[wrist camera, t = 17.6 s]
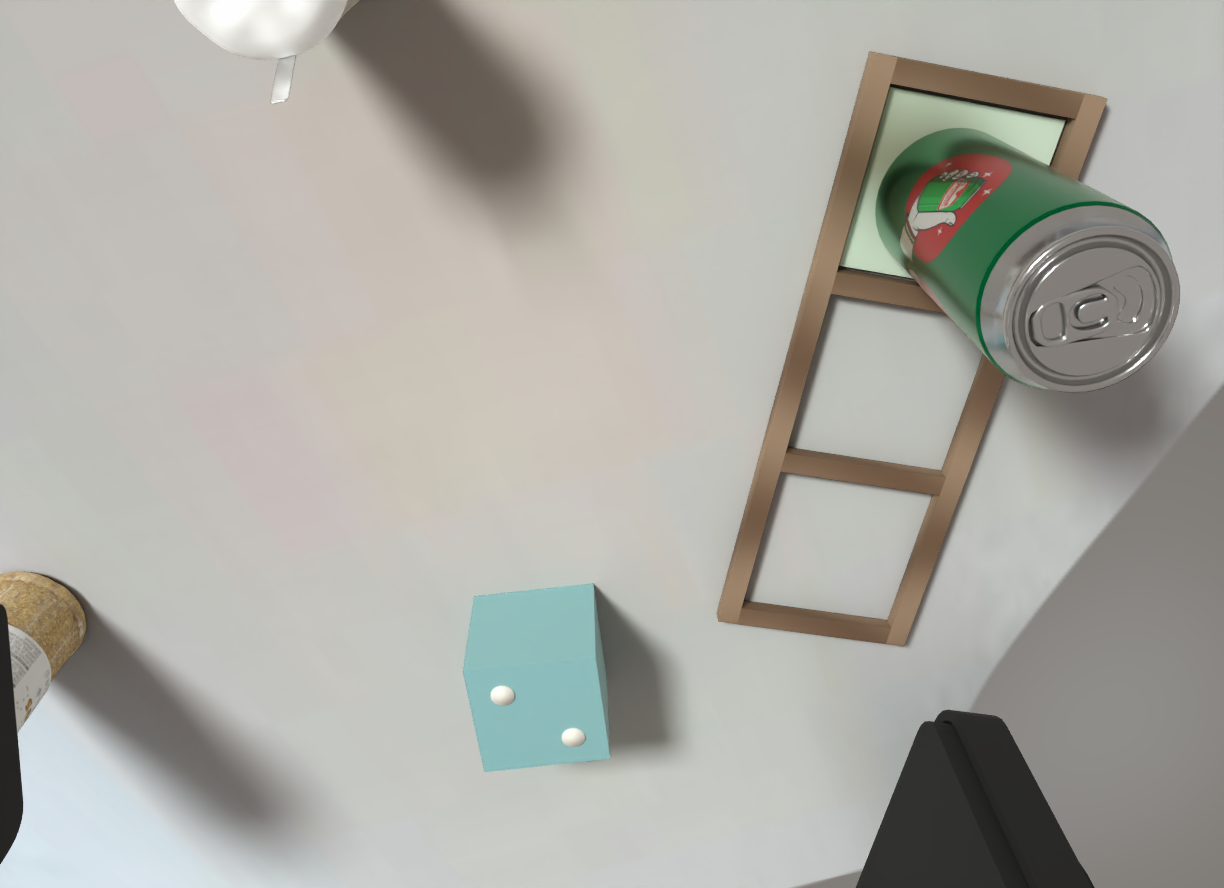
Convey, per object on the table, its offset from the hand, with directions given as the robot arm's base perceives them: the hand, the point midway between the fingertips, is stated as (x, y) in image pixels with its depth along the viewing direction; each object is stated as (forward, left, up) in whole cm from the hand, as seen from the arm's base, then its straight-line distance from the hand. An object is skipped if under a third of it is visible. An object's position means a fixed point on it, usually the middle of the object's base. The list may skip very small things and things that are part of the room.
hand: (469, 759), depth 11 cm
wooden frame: (-9, -12, -28) cm, 32 cm away
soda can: (-2, -14, -28) cm, 32 cm away
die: (-20, +2, -28) cm, 35 cm away
